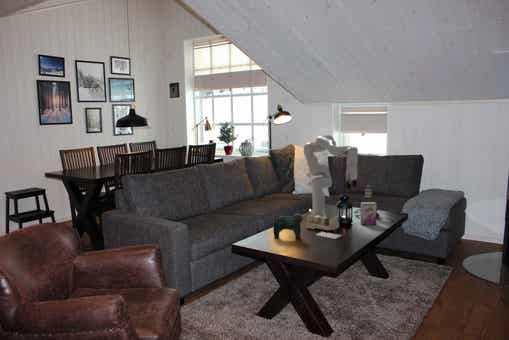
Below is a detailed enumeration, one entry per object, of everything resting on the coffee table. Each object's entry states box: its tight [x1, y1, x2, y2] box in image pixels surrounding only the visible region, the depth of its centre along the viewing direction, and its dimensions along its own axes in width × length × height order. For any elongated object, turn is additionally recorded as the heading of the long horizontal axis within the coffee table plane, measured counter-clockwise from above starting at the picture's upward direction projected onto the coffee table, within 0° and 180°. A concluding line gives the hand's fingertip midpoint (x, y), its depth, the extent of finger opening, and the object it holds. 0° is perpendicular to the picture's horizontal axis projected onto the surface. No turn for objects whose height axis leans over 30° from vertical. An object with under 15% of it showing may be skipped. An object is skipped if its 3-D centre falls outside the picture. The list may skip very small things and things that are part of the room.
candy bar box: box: [359, 201, 378, 226], centre depth 315 cm, size 11×5×16 cm, turn 84°
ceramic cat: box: [272, 208, 304, 240], centre depth 287 cm, size 20×6×20 cm, turn 81°
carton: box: [305, 212, 340, 231], centre depth 310 cm, size 19×15×9 cm
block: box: [314, 215, 332, 227], centre depth 310 cm, size 12×5×8 cm, turn 50°
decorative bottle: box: [354, 184, 383, 217], centre depth 337 cm, size 22×21×25 cm
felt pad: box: [315, 231, 342, 240], centre depth 292 cm, size 15×9×1 cm, turn 50°
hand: (351, 187), depth 309 cm, fingers open, 9 cm apart
